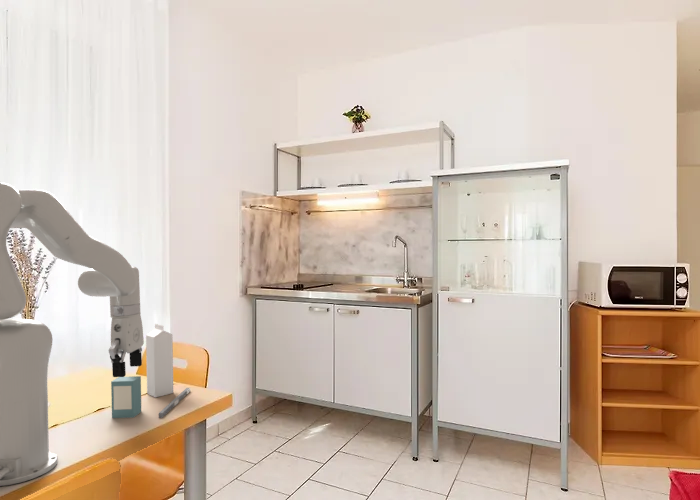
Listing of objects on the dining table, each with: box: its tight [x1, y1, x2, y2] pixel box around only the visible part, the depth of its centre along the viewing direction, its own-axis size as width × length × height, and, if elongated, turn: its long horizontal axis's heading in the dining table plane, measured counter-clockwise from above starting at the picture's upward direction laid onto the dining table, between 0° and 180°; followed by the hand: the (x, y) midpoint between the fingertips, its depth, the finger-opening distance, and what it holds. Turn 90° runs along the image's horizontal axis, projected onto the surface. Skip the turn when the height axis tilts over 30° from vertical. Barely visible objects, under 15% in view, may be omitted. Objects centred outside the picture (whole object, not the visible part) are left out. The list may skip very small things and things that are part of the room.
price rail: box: [158, 387, 191, 418], centre depth 131 cm, size 22×1×1 cm, turn 1°
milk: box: [145, 323, 174, 398], centre depth 141 cm, size 6×6×22 cm
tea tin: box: [110, 375, 142, 419], centre depth 123 cm, size 6×5×10 cm
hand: (127, 371), depth 124 cm, fingers open, 9 cm apart
